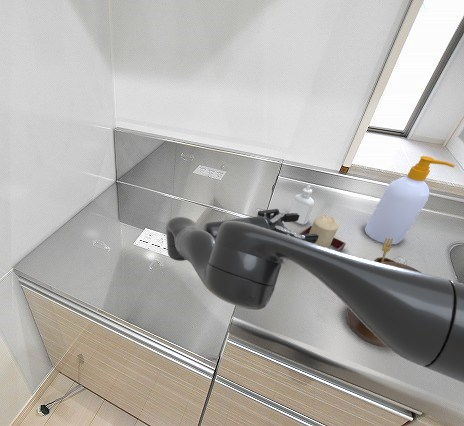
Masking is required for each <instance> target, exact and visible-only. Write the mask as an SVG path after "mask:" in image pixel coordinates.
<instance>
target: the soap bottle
mask: <svg viewBox="0 0 464 426" xmlns="http://www.w3.org/2000/svg"><path fill="white" fill-rule="evenodd" d="M431 164H433V165H441V166H442V165H443V166H446V167H450V168H455V166H456V165H455V164H453V163H450V162H447V161H444V160H439V159H434V157H431V156H428V155H427V156H426V155H421V156H420V159H419V161H418V163H416V164H415V165H413V166H411V167H410V169H409V171H408V173H407V174H406V176H402V177H399V178H396V179H395V180H393V181H391V182H390V183H389V184H388V185H387V186H386V188H385V190H384V192H383V193H382V195H381V197H380V199H379V201H378V203H377V205H376V207H375V209H374V210H373V213H372V214H371V216H370V218H369V220H368V221H367V223H366V226H365V228H364V231H365V233H366V235H367V236H368V238H370V239H372V240H374V241H376V242H379V243H381V244H384V242H385V239H386V238H387V241H388V239H389V238H390V241H391V239H392V238H393V241H392V244H391V245H398V244H399V243H401V242H402V241H403V239H404V237H405V236H406V235H407V233H408V231H409V230H410V228H411V227H412V226H413V224H414V222H415V221H416V219H417V217H418V216H419V214H420V213H421V212H422V210H423V208H424V207H425V205H426V203H427V202H428V200H429V198H430V189H429V186H428V184H427V183H426V182H425V180H426V179H427V177H428V175H430V172H431V170H430V165H431ZM390 241H389V244H390ZM386 244H387V242H386Z"/></svg>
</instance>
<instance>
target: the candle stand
mask: <svg viewBox="0 0 464 426" xmlns="http://www.w3.org/2000/svg"><path fill="white" fill-rule="evenodd" d="M382 263H383V264H387V265H391V266H395V267H399V268H403V269H407V270H411V271H415V272H419V273H423V272H422V271H420V270H418V269H416V268H414V267H412V266H410V265H408V264H407V265H406V264H404V263H402V262H401V263H400V262H398V263H396V261H395V262H382ZM345 320H346V323H347V325H348V327H349V328H350V329H351V331H352V332H354V334H355V335H356V336H357V337H359V338H361V340H363V341H365V342H366V343H369V344H371V345H374V346H377V347H383V348H384V347H387V346H386V345H385V344H384V343H382V342H381V341H380V340H379V339H378V338H377V337H376V336H375V335H374V334H373V333H372V332H371V331H370V330H369V329H368V328H367V327H366V326H365V325H364V324H363V323H362V322H361V321H360V319H359V318H358V317H357V316H356V315H355V314H354V313H353V312H352V311H351V310H350V309H349V308H348V310H347V312H346V314H345ZM387 348H388V347H387Z"/></svg>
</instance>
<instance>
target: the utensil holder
mask: <svg viewBox="0 0 464 426" xmlns="http://www.w3.org/2000/svg"><path fill="white" fill-rule="evenodd" d="M389 241H390V238H389V239H388V241H387V238H386V239H385V242H384V243H383V244H382V247H381V251H382V252H383V254H382V256H381V257H377V258H375V259H374V260H373V261H375V262H379V263H382V262H396V261H397V262H396V263H401V264H402V262H403V261H404V262H403V264H404V265H407V266H408V262H407V259H406V258H405V257H404V256H402V257H401V256H396V257H394V258H393V259H391V258H387V257H386V254H387V253H388V252H389V251H391V247H392V245H393V244H392V241H393V238H392V239H391V241H390V244H389ZM386 242H387V244H386ZM397 258H399V259H401V260H400V261H398V259H397ZM405 263H406V264H405Z"/></svg>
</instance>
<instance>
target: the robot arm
mask: <svg viewBox="0 0 464 426" xmlns="http://www.w3.org/2000/svg"><path fill="white" fill-rule="evenodd" d="M299 216H300V215H299V214H298V213H289V212H288V213H285V212H280V209H278V208H273V209H266V210H265V209H264V210H258V211H257V214H256V216H249V217H248V216H247V217H238V218H231V219H226V220H225V219H224V220H215V221H214V220H213V221H207V222H206V223H205V224H204V225H203V228H202V229H201V228H200V227H199V226H198V224H197V223H196V222H195V221H194V220H192V219H191V218H189V217H186V216H176V217H173V218H171V219H169V220H168V221H167V223H166V226H165V237H166V249H167V255H168V257H169V258H170V259H171V260H174V261H176V262H177V261H179V262H184V261H188V262H189V263H190V264H191V265H192V267H193V269H194V271H195V272H196V274H197V276H198V277H199V279H200V281H201V282H202V284H203V285H204V287H205V288H206V289H207V290H208V291H209V292H210V293H211V294H213V295H214V296H215V297H217V298H218V299H220V300H221V301H224V302H226V303H228V304H231V305H233V306H236V307H239V308H242V309H247V310H253V311H255V310H257V311H258V310H262V309H264V308H266V307H267V306H268V304H269V303H270V301H271V299H272V297H273V295H274V292H275V289H276V285H277V281H278V278H279V275H280V272H281V268H282V266H283V265H282V264H283V263H284V260H288V261H291V262H292V263H294V264H295V265H298V266H299V267H301V268H302V269H304V270H305V271H307V272H308V273H310V274H311V275H312V276H313V277H315V278H316V279H318V280H319V282H321V283H322V284H323V285H324V286H325V287H327V289H329V290H330V291H331V292H332V293H333V294H334V295H335V296H336V297H337V298H338V299H339V300H341V302H342V303H343V304H344V305H345V306H346V307H347V308H348V310H349V309H350V310H351V311H352V312H353V313H354V314H355V315H356V316H357V317H358V318H359V319H360V321H361V322H362V323H363V324H364V325H365V326H366V327H367V328H368V329H369V330H370V331H371V332H372V333H373V334H374V335H375V336H376V337H377V338H378V339H379V340H380V341H381V342H382V343H384V344H385V345H386V346H387V348H388V349H389V350H390V351H392V352H393V353H395V354H396V355H397V356H399V357H401V358H403V359H404V360H406V361H408V362H411V363H413V364H416V365H418V366H421V367H423V368H425V369H428V370H430V371H433V372H436V373H438V374H440V375H443V376H445V377H447V378H450V379H453V380H455V381H458V382H461V383H463V384H464V283H463V282H459V281H455V280H452V279H447V278H443V277H440V276H435V275H432V274H427V273H423V272H422V273H419V272H415V271H411V270H407V269H403V268H399V267H395V266H391V265H387V264H383V263H379V262H375V261H374V260H371V259H366V258H363V257H360V256H356V255H352V254H349V253H345V252H342V251H341V252H338V251H336V250H335V249H332V248H330V247H329V248H326V247H323V246H320V245H316V244H313V243H316V241H317V240H318V237H319V236H318V234H309V233H308V234H306V235H300V233H296V232H295V230H292V229H289V228H288V227H287V226H285V224H284V223H292V222H293V223H296V222H295V221H298V219H299Z"/></svg>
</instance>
